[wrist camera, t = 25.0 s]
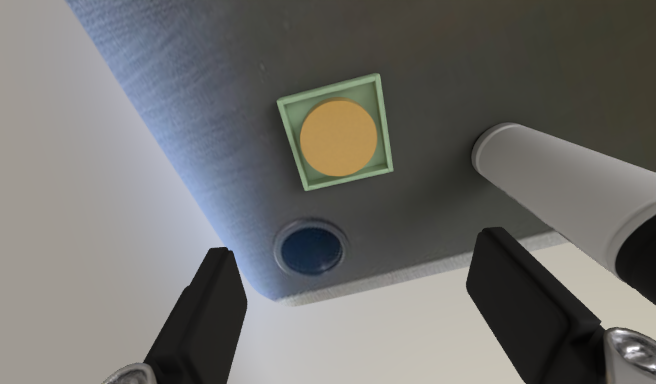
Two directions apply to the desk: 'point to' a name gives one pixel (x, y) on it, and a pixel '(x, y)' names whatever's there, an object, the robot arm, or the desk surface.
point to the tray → (357, 89)
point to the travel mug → (578, 197)
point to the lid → (338, 136)
